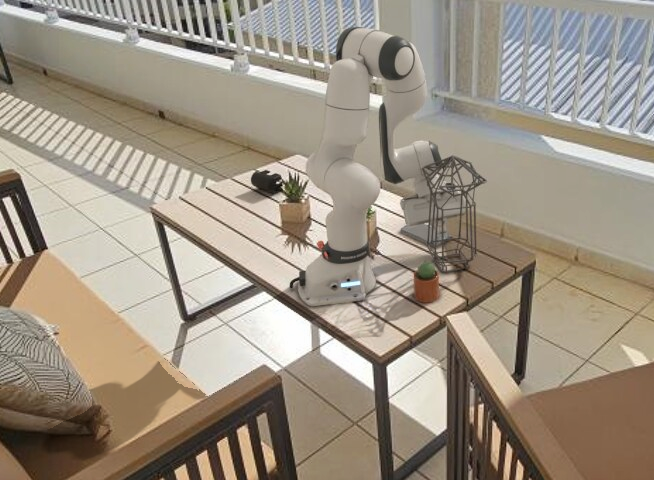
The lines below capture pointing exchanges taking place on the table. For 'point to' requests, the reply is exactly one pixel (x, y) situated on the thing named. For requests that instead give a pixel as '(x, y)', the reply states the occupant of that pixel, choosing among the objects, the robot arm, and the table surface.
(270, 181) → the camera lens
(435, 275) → the succulent pot
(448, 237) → the phone
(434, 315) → the table surface
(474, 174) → the geometric lantern
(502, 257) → the table surface
